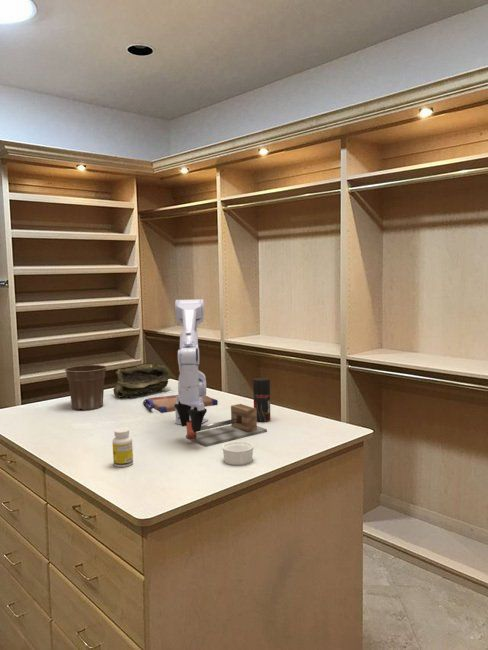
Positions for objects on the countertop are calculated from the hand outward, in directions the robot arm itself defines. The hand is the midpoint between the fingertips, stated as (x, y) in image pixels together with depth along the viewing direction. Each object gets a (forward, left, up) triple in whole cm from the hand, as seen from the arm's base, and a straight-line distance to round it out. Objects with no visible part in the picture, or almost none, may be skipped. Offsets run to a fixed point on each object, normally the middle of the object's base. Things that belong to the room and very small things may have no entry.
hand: (190, 428), depth 168 cm
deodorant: (+11, +32, -5) cm, 34 cm away
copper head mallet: (+4, +7, -3) cm, 8 cm away
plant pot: (-63, +27, -5) cm, 68 cm away
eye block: (+7, +12, -5) cm, 14 cm away
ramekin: (+20, -9, -5) cm, 23 cm away
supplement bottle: (-9, -23, -5) cm, 25 cm away
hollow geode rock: (-55, +55, -5) cm, 78 cm away
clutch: (-30, +42, -5) cm, 52 cm away
